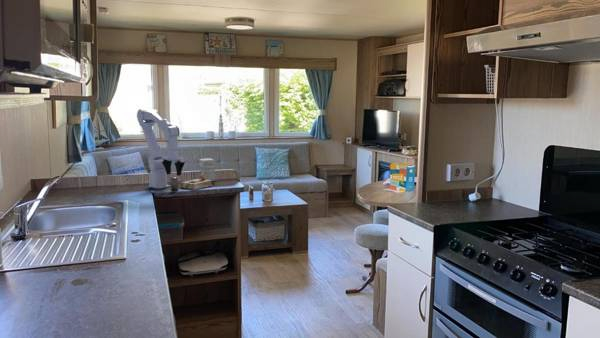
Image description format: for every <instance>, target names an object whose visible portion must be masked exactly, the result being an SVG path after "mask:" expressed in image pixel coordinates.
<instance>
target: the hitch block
mask: <svg viewBox="0 0 600 338" xmlns="http://www.w3.org/2000/svg"><path fill="white" fill-rule="evenodd" d="M180 183H181V184H180V185H181V189H186V188H187V189H188V190H195V191H196V190H199V189H204V188H207V187H212V185H213V184H212V181H211V180H202V179H200V178H195V179H191V180H186V181H181V182H180Z"/></svg>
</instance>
